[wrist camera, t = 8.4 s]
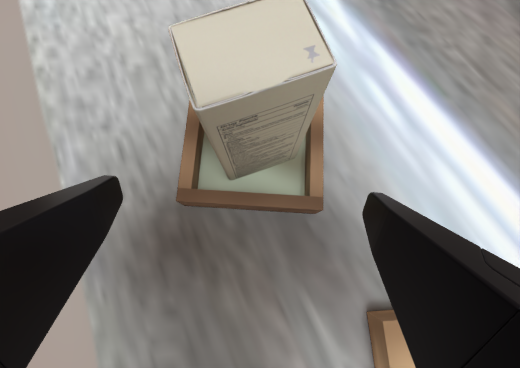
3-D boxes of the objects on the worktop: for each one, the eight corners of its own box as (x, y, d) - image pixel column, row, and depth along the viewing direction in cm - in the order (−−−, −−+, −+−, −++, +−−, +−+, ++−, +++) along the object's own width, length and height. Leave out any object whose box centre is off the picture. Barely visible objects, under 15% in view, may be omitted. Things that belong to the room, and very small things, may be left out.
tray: (315, 213, 22) (323, 210, 19) (184, 205, 21) (175, 200, 19) (316, 97, 24) (323, 80, 22) (199, 89, 24) (193, 71, 21)
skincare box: (278, 116, 23) (306, -20, 11) (296, 159, 22) (347, 62, 10) (210, 138, 22) (162, 19, 10) (225, 183, 21) (192, 110, 10)
